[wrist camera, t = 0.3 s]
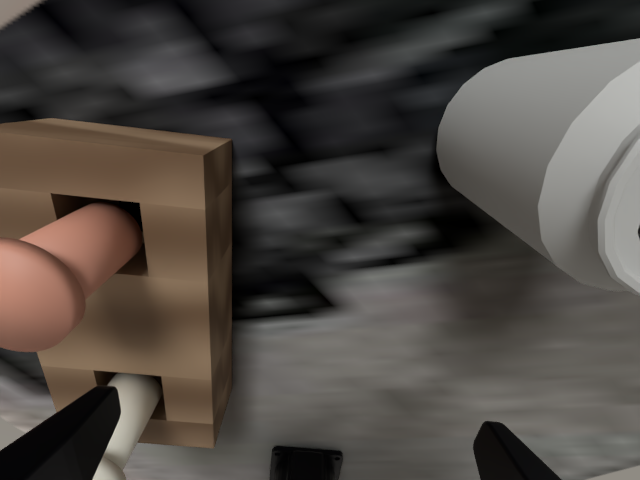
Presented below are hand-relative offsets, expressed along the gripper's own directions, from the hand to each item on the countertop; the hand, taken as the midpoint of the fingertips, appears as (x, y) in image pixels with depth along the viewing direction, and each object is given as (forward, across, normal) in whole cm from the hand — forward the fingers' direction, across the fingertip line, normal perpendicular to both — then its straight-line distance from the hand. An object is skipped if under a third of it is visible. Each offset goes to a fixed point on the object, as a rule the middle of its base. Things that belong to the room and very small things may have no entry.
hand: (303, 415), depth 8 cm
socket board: (+14, +10, +6) cm, 18 cm away
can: (+14, -10, -6) cm, 18 cm away
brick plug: (+10, +10, 0) cm, 14 cm away
